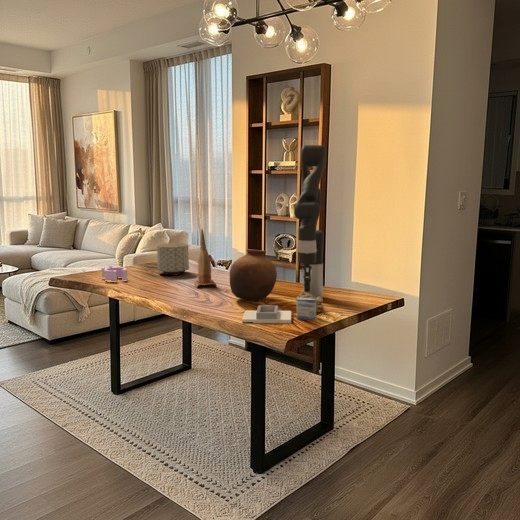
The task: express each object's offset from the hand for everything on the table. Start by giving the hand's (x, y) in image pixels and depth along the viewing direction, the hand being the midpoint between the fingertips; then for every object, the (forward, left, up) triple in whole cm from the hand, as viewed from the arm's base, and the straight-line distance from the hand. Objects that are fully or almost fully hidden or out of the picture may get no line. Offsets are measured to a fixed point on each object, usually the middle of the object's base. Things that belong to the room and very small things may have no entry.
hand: (306, 289), depth 212 cm
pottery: (-32, -25, -13) cm, 43 cm away
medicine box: (0, 0, -13) cm, 13 cm away
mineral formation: (-14, +1, -13) cm, 19 cm away
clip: (-79, -111, -13) cm, 137 cm away
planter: (-98, -80, -13) cm, 127 cm away
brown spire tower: (-63, -54, -13) cm, 84 cm away
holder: (0, -17, -13) cm, 21 cm away
